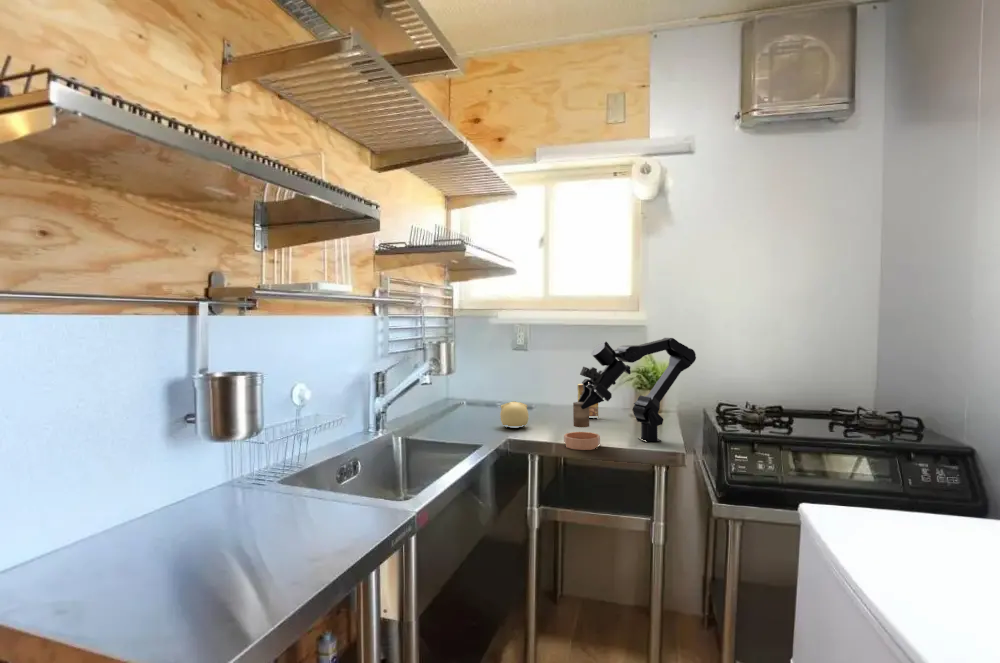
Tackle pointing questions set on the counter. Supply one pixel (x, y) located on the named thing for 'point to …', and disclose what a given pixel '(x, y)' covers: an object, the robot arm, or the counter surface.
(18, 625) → the counter surface
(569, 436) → the terracotta dish
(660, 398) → the robot arm
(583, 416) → the walnut canister
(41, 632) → the counter surface
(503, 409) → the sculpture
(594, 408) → the candy box
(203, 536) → the counter surface
